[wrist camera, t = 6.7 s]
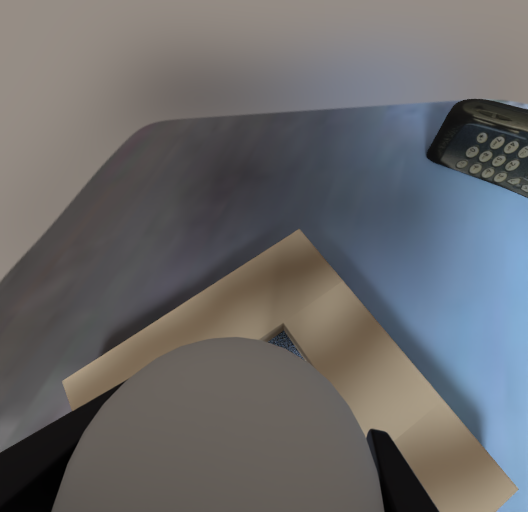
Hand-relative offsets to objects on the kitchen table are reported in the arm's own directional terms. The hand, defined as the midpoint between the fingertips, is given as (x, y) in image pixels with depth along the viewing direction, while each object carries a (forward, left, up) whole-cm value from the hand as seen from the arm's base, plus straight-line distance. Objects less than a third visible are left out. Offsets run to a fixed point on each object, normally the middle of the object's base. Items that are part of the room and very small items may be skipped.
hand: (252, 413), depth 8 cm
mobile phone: (+1, -24, -11) cm, 26 cm away
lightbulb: (-1, +1, -7) cm, 7 cm away
